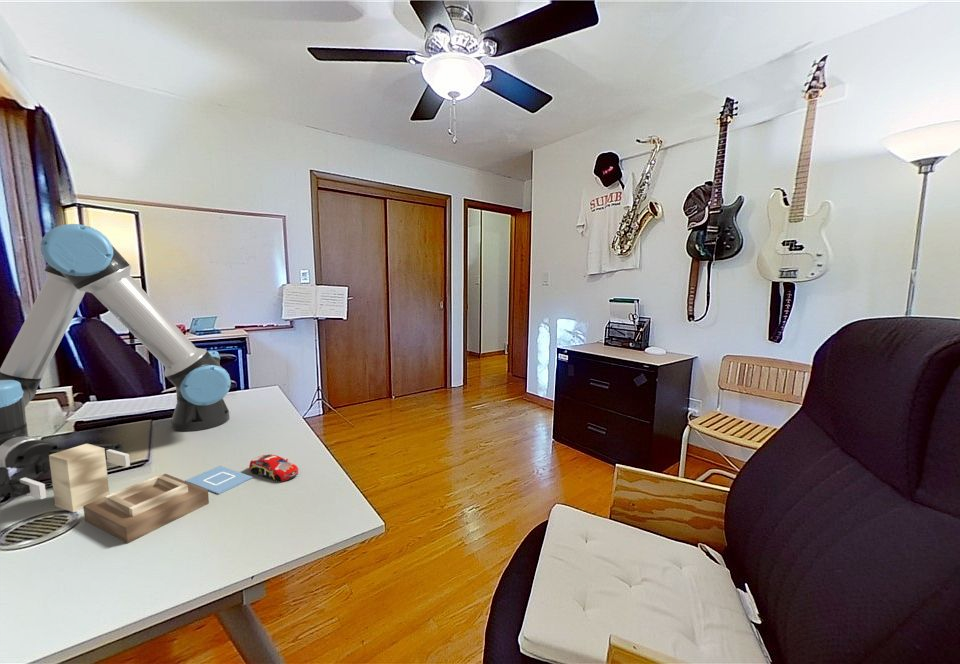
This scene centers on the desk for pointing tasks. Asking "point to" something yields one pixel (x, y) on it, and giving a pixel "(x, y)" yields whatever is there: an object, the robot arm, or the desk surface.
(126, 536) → the base plate
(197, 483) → the blueprint card
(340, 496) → the desk surface
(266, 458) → the race car
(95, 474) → the pillar
